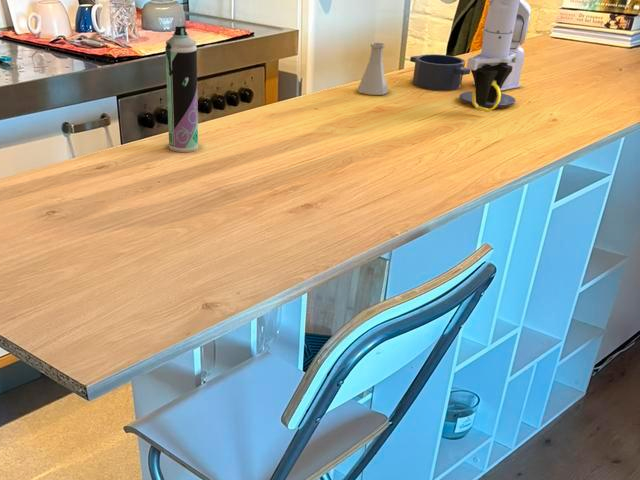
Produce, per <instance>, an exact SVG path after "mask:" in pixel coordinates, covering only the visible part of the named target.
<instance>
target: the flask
mask: <svg viewBox="0 0 640 480" xmlns="http://www.w3.org/2000/svg"><path fill="white" fill-rule="evenodd" d="M385 47H386V44H385V43H384V42H371V43H370V48H371V50H370V51H371V52H370V56H369V59H368V63H367V65H366V69H365V71H364V73H363V75H362V77H361V80H360V83H359V85H358V87H357V91H358V93H360V94H365V95H370V96H372V95H373V96H379V95H380V96H381V95H382V96H383V95H385V94H387V93H389V90H388V85H387V84H388V83H387V79H386V75H385V68H384V58H383V53H384V48H385Z"/></svg>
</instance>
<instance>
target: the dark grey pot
mask: <svg viewBox="0 0 640 480" xmlns="http://www.w3.org/2000/svg"><path fill="white" fill-rule="evenodd" d="M409 61H410V63H414V67H413V68H414V69H413V76H412V85H413V86H415V87H416V88H419V89H424V90H428V91H437V92H438V91H439V92H447V91H448V92H449V91H455V90H459V89H461V86H462V83H463V77H464V76H466V75H470V74H471V69H467V67H465V65H466V61H465V60H464V59H462V58H461V57H457V56H454V55H446V54H435V53H433V54H421V55H415V56H410V59H409Z"/></svg>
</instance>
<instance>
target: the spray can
mask: <svg viewBox="0 0 640 480" xmlns="http://www.w3.org/2000/svg"><path fill="white" fill-rule="evenodd" d="M174 29H175V31H174V33H172V36H171V37H170V38H169V39H167V40H166V41H165V47H164V48H165V74H166V96H167V97H166V99H167V101H166V102H167V124H168V126H167V127H168V128H167V129H168V147H169V150H171V151H173V152H176V153H191V152H195V151H197V150H199V113H198V112H199V109H198V108H199V106H198V105H199V104H198V47H197V41H196V40H194V39H192V38H191V37H190V35H189V33H188V32H187V29H186V25H182V26H175V28H174Z"/></svg>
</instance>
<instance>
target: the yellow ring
mask: <svg viewBox="0 0 640 480" xmlns="http://www.w3.org/2000/svg"><path fill="white" fill-rule="evenodd" d="M496 82H497V81H496V80H493V82H492V85H493V86H494V88H495V89H496V91H497V95H498V96H497V101H496V103H495V105H494V106H493V107H492V108H486V107H481V106H479V105H478V104H477V103H476V96H475V94H476V91H475V87H474V88H473V90H472V91H473V93H472V103H473V105H472V106H474V108H475V109H476V110H481V111H483V112H491V111H492V110H494V109H496V108H495V107H496V106H497V105H498V104H499V101H500V98H501V93H502V91H500V88H499V86H498V85H497V84H496Z"/></svg>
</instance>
